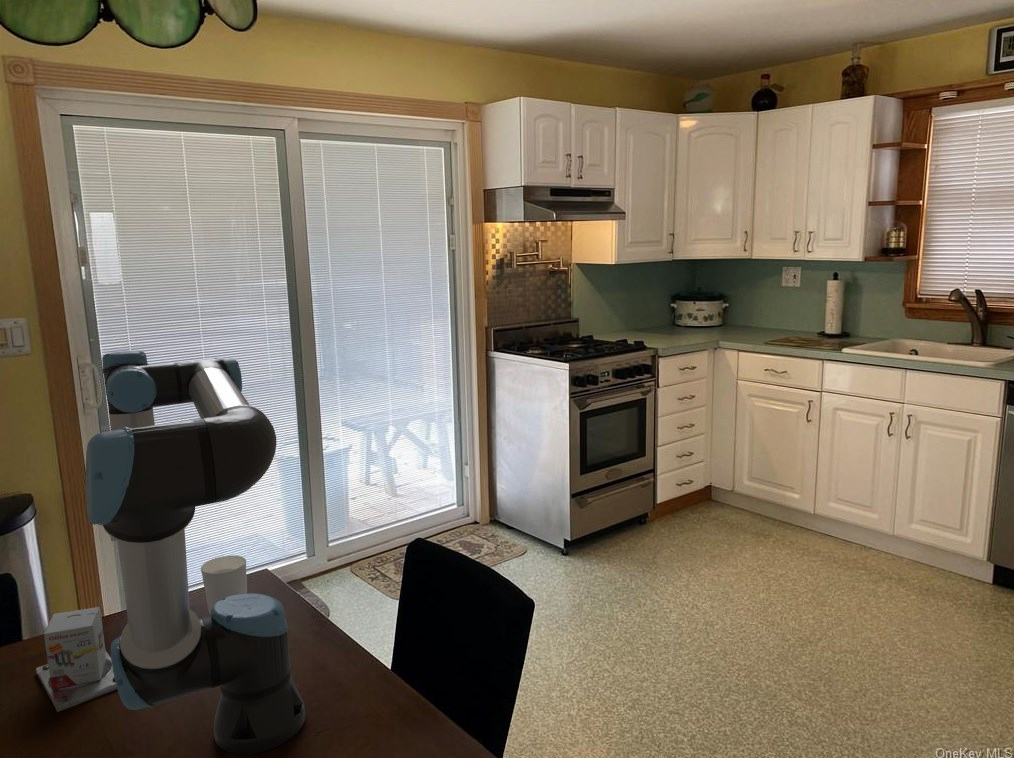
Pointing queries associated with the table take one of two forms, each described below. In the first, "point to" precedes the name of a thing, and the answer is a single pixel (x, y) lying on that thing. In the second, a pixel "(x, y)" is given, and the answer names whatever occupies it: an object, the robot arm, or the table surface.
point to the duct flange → (78, 687)
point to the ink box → (75, 647)
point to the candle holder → (224, 578)
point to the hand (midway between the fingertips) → (147, 540)
